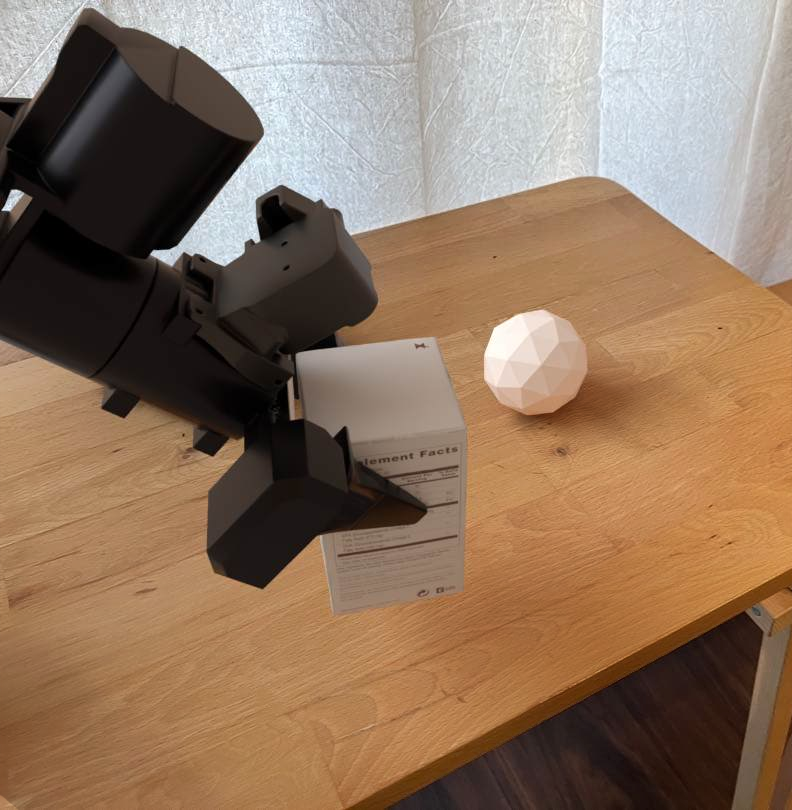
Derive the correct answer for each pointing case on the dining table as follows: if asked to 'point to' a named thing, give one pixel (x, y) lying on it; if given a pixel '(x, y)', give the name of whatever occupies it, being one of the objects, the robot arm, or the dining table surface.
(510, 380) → the geometric ball
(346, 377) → the white packaging box
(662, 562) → the dining table surface
